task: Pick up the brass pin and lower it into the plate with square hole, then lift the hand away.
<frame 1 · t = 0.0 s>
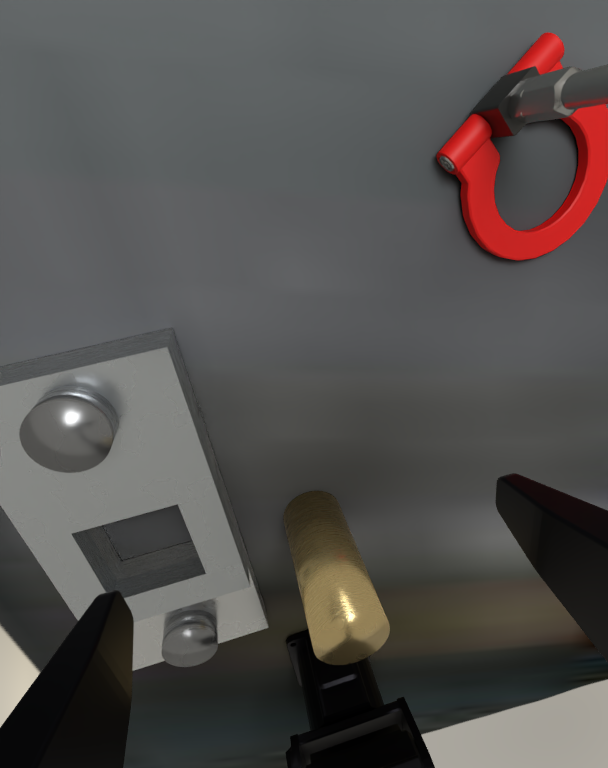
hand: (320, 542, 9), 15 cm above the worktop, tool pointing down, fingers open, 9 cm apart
brass pin: (311, 514, 29), on the worktop
plate with square hole: (149, 517, 26), on the worktop
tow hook: (523, 170, 22), on the worktop
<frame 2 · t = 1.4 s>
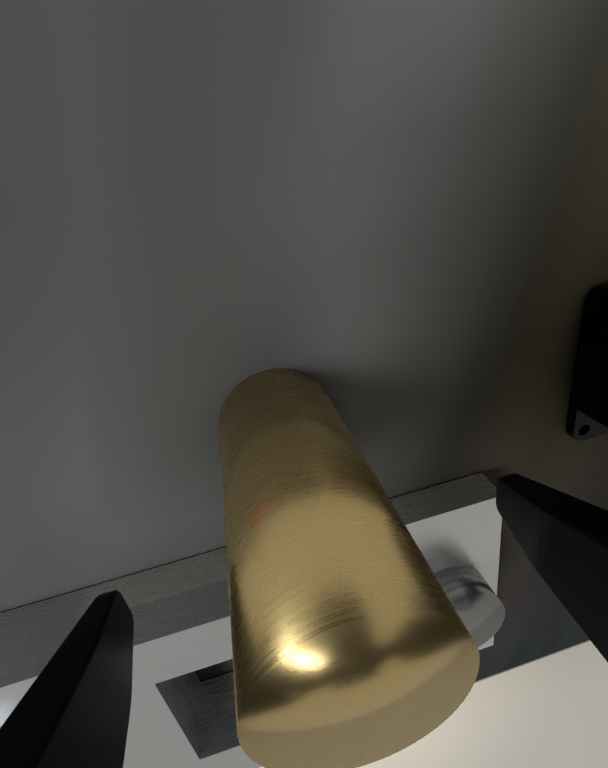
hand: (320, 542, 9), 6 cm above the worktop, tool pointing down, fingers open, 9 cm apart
brass pin: (277, 421, 14), on the worktop
plate with square hole: (244, 627, 19), on the worktop
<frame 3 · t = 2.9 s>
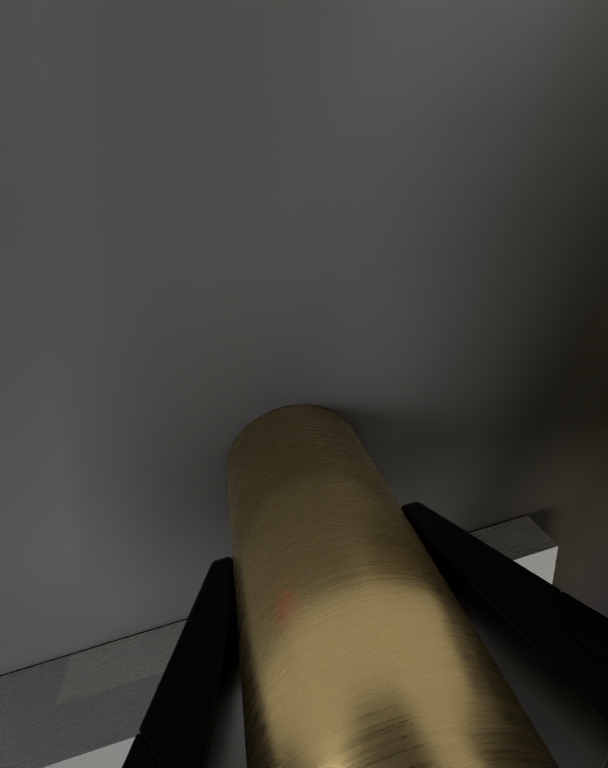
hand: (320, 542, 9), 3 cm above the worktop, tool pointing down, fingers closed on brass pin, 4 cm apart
brass pin: (295, 465, 12), on the worktop, touching gripper
plate with square hole: (254, 689, 16), on the worktop
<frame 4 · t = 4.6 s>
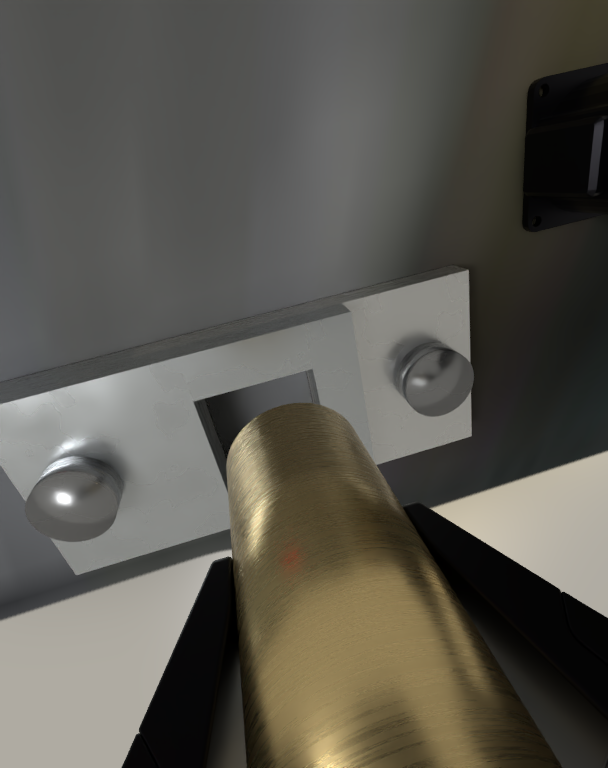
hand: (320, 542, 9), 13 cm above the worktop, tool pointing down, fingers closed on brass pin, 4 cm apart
brass pin: (295, 463, 12), point 10 cm above the worktop, touching gripper
plate with square hole: (261, 406, 23), on the worktop
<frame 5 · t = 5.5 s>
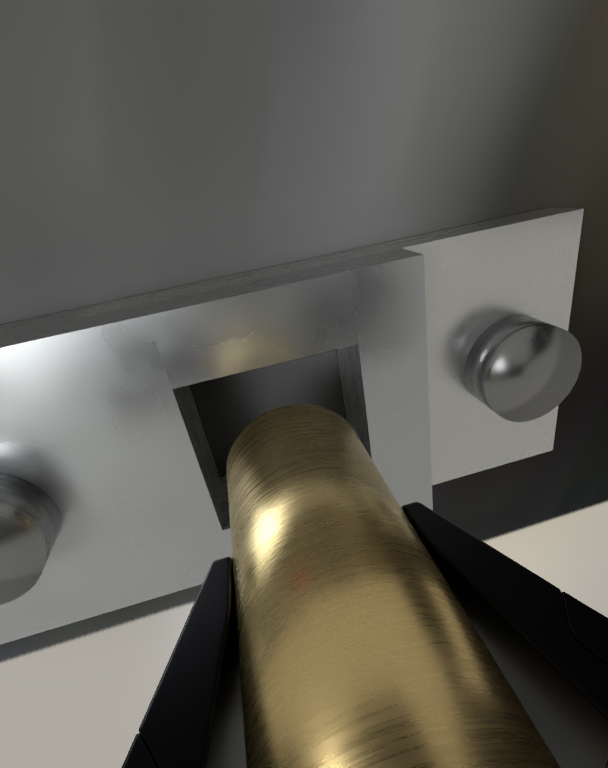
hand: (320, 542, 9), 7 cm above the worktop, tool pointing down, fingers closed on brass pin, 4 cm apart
brass pin: (295, 464, 12), point 4 cm above the worktop, touching gripper
plate with square hole: (272, 401, 16), on the worktop
when the fingers open (5 cm above the worktop, at t = 6.3 s): brass pin drops 2 cm, resting in plate with square hole.
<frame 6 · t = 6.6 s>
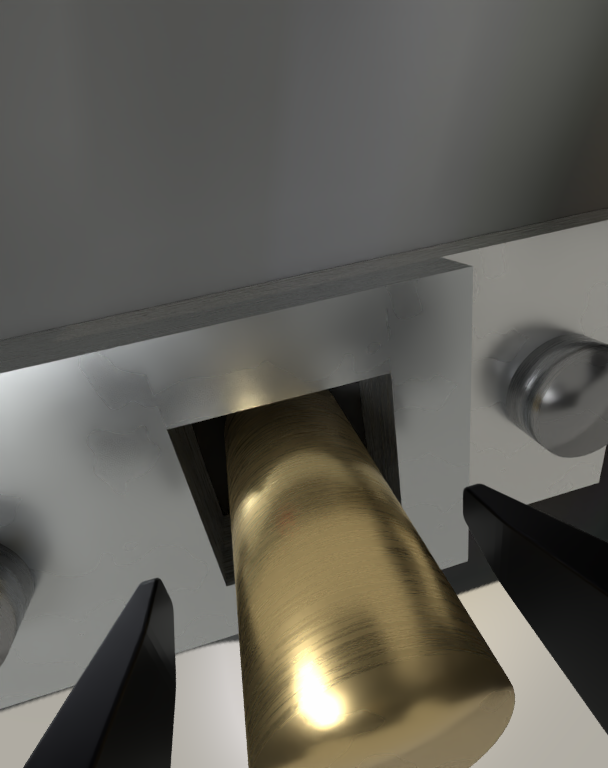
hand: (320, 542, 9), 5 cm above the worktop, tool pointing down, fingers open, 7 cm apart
brass pin: (284, 429, 14), resting in plate with square hole
plate with square hole: (283, 431, 14), on the worktop
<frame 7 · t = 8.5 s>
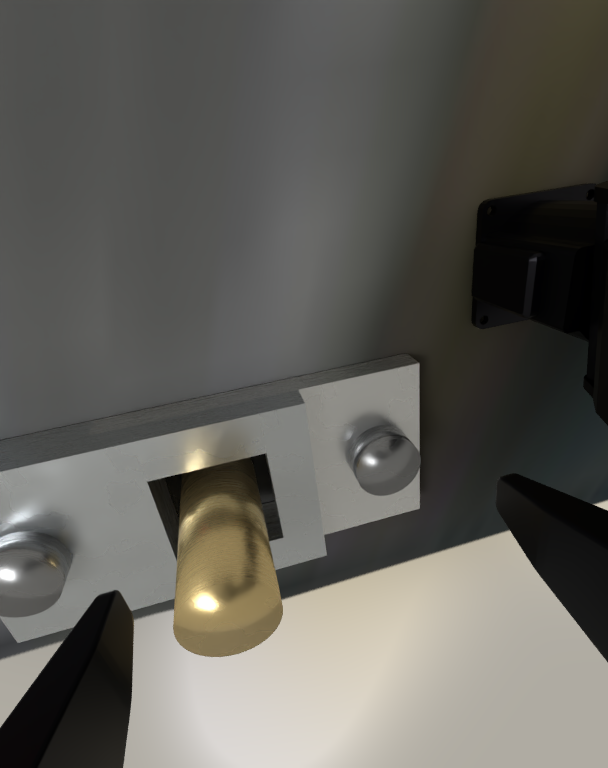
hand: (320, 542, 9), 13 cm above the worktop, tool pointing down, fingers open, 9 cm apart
brass pin: (218, 474, 23), resting in plate with square hole
plate with square hole: (218, 475, 23), on the worktop
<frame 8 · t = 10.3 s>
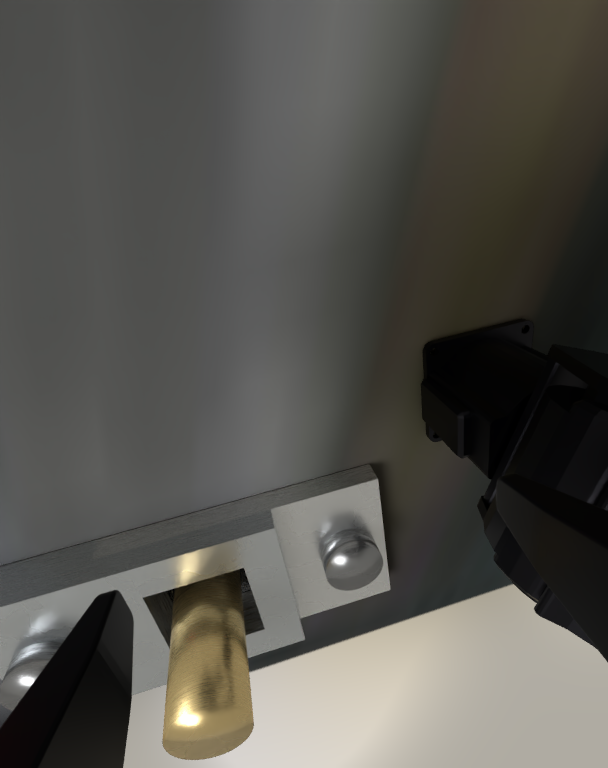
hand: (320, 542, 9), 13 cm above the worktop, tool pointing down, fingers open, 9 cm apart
brass pin: (208, 571, 27), resting in plate with square hole
plate with square hole: (207, 572, 27), on the worktop
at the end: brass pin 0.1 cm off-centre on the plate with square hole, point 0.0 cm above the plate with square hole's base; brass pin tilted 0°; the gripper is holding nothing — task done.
